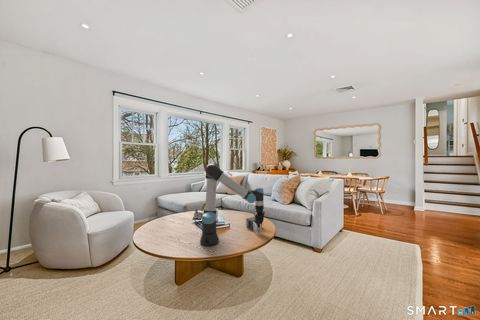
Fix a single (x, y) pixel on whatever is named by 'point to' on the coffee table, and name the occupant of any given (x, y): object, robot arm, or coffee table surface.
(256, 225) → the side door
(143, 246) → the coffee table surface
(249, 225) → the camera body
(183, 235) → the coffee table surface
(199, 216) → the sign
